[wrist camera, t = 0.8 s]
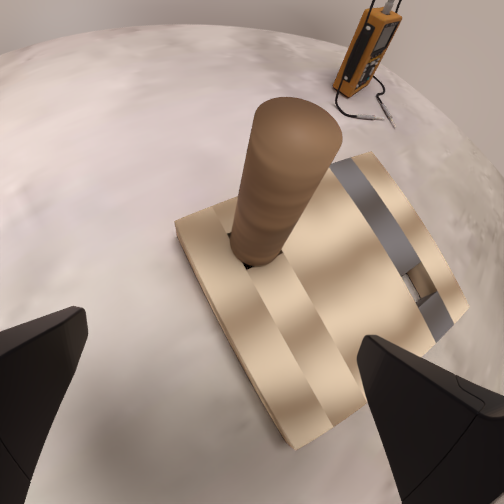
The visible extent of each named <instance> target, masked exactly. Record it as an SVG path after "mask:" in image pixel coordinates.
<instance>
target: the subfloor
mask: <svg viewBox="0 0 504 504" xmlns="http://www.w3.org/2000/svg"><path fill="white" fill-rule="evenodd" d="M237 199H238V196H237V197H234V198H232V199H229V200H227V201H224V202H221V203H219V204H216V205H214V206H211V207H208V208H206V209H203V210H201V211H198V212H196V213H193V214H191V215H188V216H186V217H183V218H181V219H178V220H176V221H174V222H175V227H176V233H177V237H178V239H179V241H180V243H181V246H182V248H183V250H184V252H185V254H186V256H187V258H188V261H189V263H190V265H191V267H192V269H193V271H194V273H195V275H196V277H197V279H198V282H199V284H200V286H201V288H202V290H203V292H204V294H205V296H206V298H207V300H208V302H209V304H210V306H211V308H212V310H213V312H214V314H215V316H216V318H217V320H218V322H219V324H220V325H221V327H222V329H223V331H224V333H225V335H226V337H227V339H228V341H229V343H230V345H231V347H232V348H233V350H234V352H235V354H236V356H237V358H238V360H239V361H240V363H241V365H242V367H243V369H244V371H245V372H246V374H247V376H248V378H249V380H250V381H251V383H252V385H253V387H254V389H255V390H256V392H257V394H258V396H259V397H260V399H261V401H262V403H263V404H264V406H265V408H266V410H267V411H268V413H269V415H270V416H271V418H272V420H273V421H274V423H275V425H276V427H277V428H278V430H279V432H280V433H281V435H282V437H283V438H284V440H285V441H286V443H287V444H288V445H290V446H291V447H292V448H293V449H294V450H298V449H299V448H301V447H303V446H304V445H306V444H308V443H309V442H311V441H313V440H314V439H316V438H317V437H319V436H321V435H322V434H324V433H325V432H327V431H328V430H330V429H331V428H333V427H334V426H336V425H337V424H339V423H340V422H342V421H343V420H344V419H346V418H347V417H349V416H350V415H352V414H353V413H354V412H356V411H357V410H358V409H360V408H361V407H362V406H364V405H365V404H366V403H368V402H367V399H366V396H365V392H364V388H363V384H362V380H361V377H360V373H359V369H358V365H357V360H356V359H357V354H358V351H359V348H360V345H361V342H362V340H363V338H364V336H365V335H378V336H380V337H382V338H384V339H386V340H388V341H390V342H392V343H394V344H396V345H397V346H399V347H401V348H403V349H405V350H407V351H409V352H411V353H413V354H415V355H417V356H419V357H422V356H423V355H424V354H425V353H426V352H427V351H428V350H429V349H430V348H431V347H432V346H433V345H435V344H436V343H437V342H438V341H439V340H440V339H441V337H442V336H443V335H444V334H445V333H446V332H447V331H448V330H449V329H450V328H451V327H452V326H453V325H454V324H455V323H456V322H457V321H458V320H459V318H460V317H461V316H462V315H463V314H464V313H465V312H466V311H467V309H468V308H469V305H468V302H467V300H466V298H465V296H464V294H463V292H462V290H461V288H460V286H459V284H458V283H457V281H456V279H455V277H454V275H453V273H452V271H451V269H450V268H449V266H448V264H447V262H446V260H445V259H444V257H443V255H442V253H441V252H440V250H439V248H438V247H437V245H436V243H435V242H434V240H433V238H432V237H431V235H430V233H429V232H428V230H427V229H426V227H425V225H424V224H423V222H422V221H421V219H420V218H419V216H418V215H417V213H416V211H415V210H414V209H413V207H412V206H411V204H410V203H409V201H408V200H407V198H406V197H405V195H404V194H403V193H402V191H401V190H400V188H399V187H398V186H397V184H396V183H395V181H394V180H393V179H392V177H391V176H390V175H389V173H388V172H387V171H386V169H385V168H384V167H383V165H382V164H381V163H380V161H379V160H378V159H377V158H376V156H375V155H374V154H373V153H372V151H371V152H368V153H364V154H361V155H358V156H354V157H351V158H348V159H345V160H342V161H338V162H335V163H332V164H331V165H330V166H329V168H328V170H327V172H326V173H325V175H324V177H323V179H322V180H321V182H320V184H319V186H318V187H317V189H316V191H315V192H314V194H313V196H312V198H311V199H310V201H309V203H308V205H307V206H306V208H305V210H304V211H303V213H302V215H301V217H300V218H299V220H298V222H297V223H296V225H295V227H294V229H293V230H292V232H291V234H290V235H289V237H288V239H287V240H286V242H285V244H284V246H283V247H282V249H281V251H280V252H279V254H278V256H277V257H276V258H275V259H274V260H273V261H272V262H270V263H268V264H266V265H262V266H254V267H252V268H250V269H248V270H246V269H245V267H244V265H243V263H242V261H240V260H239V259H238V258H237V257H236V256H235V255H234V253H233V251H232V249H231V246H230V236H231V231H232V225H233V220H234V215H235V210H236V204H237ZM405 273H407V274H408V276H409V277H410V279H411V281H412V283H413V284H414V286H415V288H416V290H417V292H418V294H419V295H420V297H421V299H420V300H418V301H417V302H416V303H415V301H414V299H413V297H412V296H411V294H410V292H409V290H408V288H407V287H406V285H405V283H404V281H403V280H402V278H401V276H403V275H404V274H405Z"/></svg>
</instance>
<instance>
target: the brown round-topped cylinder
mask: <svg viewBox="0 0 504 504" xmlns="http://www.w3.org/2000/svg"><path fill="white" fill-rule="evenodd" d="M341 144H342V132H341V129H340V127H339V125H338V123H337V122H336V120H335V119H334V118H333V117H332V116H331V115H330V114H329V113H328V112H327V111H325V110H324V109H323V108H321V107H319V106H318V105H316V104H314V103H311V102H309V101H306V100H303V99H299V98H293V97H279V98H273V99H270V100H268V101H266V102H264V103H262V104H261V105H260V106H259V107H258V108H257V110H256V112H255V115H254V120H253V124H252V129H251V134H250V139H249V144H248V149H247V154H246V159H245V164H244V169H243V174H242V179H241V184H240V189H239V194H238V199H237V204H236V210H235V215H234V220H233V225H232V231H231V236H230V246H231V249H232V251H233V253H234V255H235V256H236V257H237V258H238V259H239V260H240V261H242V262H243V263H244V264H245V265H247V266H262V265H266V264H268V263H270V262H272V261H273V260H274V259H275V258H276V257H277V256H278V254H279V252H280V251H281V249H282V247H283V246H284V244H285V242H286V240H287V239H288V237H289V235H290V234H291V232H292V230H293V229H294V227H295V225H296V223H297V222H298V220H299V218H300V217H301V215H302V213H303V211H304V210H305V208H306V206H307V205H308V203H309V201H310V199H311V198H312V196H313V194H314V192H315V191H316V189H317V187H318V186H319V184H320V182H321V180H322V179H323V177H324V175H325V173H326V172H327V170H328V168H329V166H330V165H331V163H332V161H333V159H334V157H335V156H336V154H337V152H338V150H339V149H340V147H341Z"/></svg>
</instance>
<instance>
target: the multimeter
mask: <svg viewBox="0 0 504 504" xmlns="http://www.w3.org/2000/svg"><path fill="white" fill-rule="evenodd" d="M401 1H402V0H399V3H398V5H397V8H396V11H395V12H393V11H391V8H392V7H393V2H394V0H388V2H387V3H386V4H385V6H384V7H381V8H373V5H374V2H375V0H373V1H372V4H371V6H370V8H369V9H366V10H365V11H364V13H363V15H362V17H361V20H360V22H359V25H358V27H357V29H356V32H355V35H354V36H353V39H352V41H351V44H350V46H349V48H348V51H347V53H346V55H345V58H344V60H343V62H342V65H341V67H340V70H339V72H338V74H337V77H336V79H335V82H334V84H333V87H334V88H335V89H337V94H336V99H335V104H336V106H337V108H338V109H339V110H340V111H341V112H342V113H343V114H344V115H346V116H349V117H357V118H362V119H373V120H375V119H385V118H380V117H375V116H374V115H373V116H370V115H349V114H346V113H344V112H343V111H342V110H341V108H340V107H339V106H338V104H337V99H338V94H339V91H340V92H341V93H343V94H344V95H346V96H347V97H351V96H352V95H353V94H355V93H356V92H358V91H359V90H360V89H362V88H363V87H365V86H367V85H368V84H369V83H370V81H371V79H372V77H374V78H375V79H376V80H377V81H378V82H379V83H380V84H381V85H382V86H383V90H384V91H383V92H382V93H378V94H377V98H378V100H379V101H380V103H381V104H382V107H383V109H384V111H385V112H386V114H387V116H388V119H391V121H392V123H393V124H394V122H393V120H392V116H391V115H390V113H389V111H388V110H387V108H386V106H385V105H384V104H383V103H382V101H381V100H380V98H379V96H378V95H380V94H384V93H385V87H384V85H383V84H382V83H381V82H380V81H379V80H378V79H377V78H376V77H375V76H373V74H374V73H375V71H376V69H377V67H378V65H379V64H380V62H381V59H382V58H383V55H384V54H385V52H386V50H387V48H388V46H389V44H390V42H391V40H392V38H393V36H394V34H395V32H396V30H397V28H398V26H399V24H400V22H401V20H402V16H400V15H398V14H397V11H398V8H399V5H400V3H401ZM394 126H395V127H396V125H395V124H394Z"/></svg>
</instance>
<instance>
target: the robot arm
mask: <svg viewBox="0 0 504 504" xmlns="http://www.w3.org/2000/svg"><path fill="white" fill-rule="evenodd" d="M87 337H88V326H87V319H86V312H85V310H84V308H81V307H76V306H71V307H69V308H66V309H63V310H60V311H57V312H54V313H51V314H49V315H46V316H43V317H40V318H37V319H34V320H32V321H29V322H26V323H23V324H20V325H17V326H15V327H12V328H9V329H6V330H3V331H1V332H0V504H24V502H25V499H26V496H27V492H28V489H29V486H30V483H31V482H30V481H31V479H32V476H33V473H34V470H35V467H36V465H37V462H38V459H39V456H40V454H41V451H42V448H43V446H44V443H45V440H46V438H47V435H48V433H49V430H50V428H51V425H52V423H53V421H54V418H55V416H56V414H57V411H58V409H59V407H60V404H61V402H62V400H63V398H64V395H65V393H66V391H67V389H68V387H69V385H70V382H71V380H72V378H73V376H74V374H75V371H76V368H77V365H78V362H79V359H80V357H81V354H82V351H83V348H84V346H85V343H86V340H87ZM356 360H357V365H358V369H359V373H360V377H361V380H362V384H363V388H364V392H365V396H366V399H367V402H368V405H369V407H370V410H371V413H372V416H373V418H374V421H375V424H376V427H377V429H378V432H379V435H380V438H381V441H382V444H383V446H384V449H385V452H386V455H387V458H388V461H389V464H390V467H391V470H392V473H393V476H394V479H395V482H396V486H397V489H398V492H399V495H400V498H401V501H402V504H504V396H503V395H500V394H498V393H495V392H493V391H490V390H488V389H486V388H483V387H481V386H479V385H476V384H474V383H472V382H470V381H468V380H466V379H463V378H461V377H459V376H457V375H455V374H453V373H451V372H449V371H447V370H445V369H443V368H441V367H439V366H437V365H435V364H433V363H431V362H429V361H427V360H425V359H423V358H421V357H419V356H417V355H415V354H413V353H411V352H409V351H407V350H405V349H403V348H401V347H399V346H397V345H396V344H394V343H392V342H390V341H388V340H386V339H384V338H382V337H380V336H378V335H365V336H364V338H363V340H362V342H361V345H360V348H359V351H358V354H357V359H356Z"/></svg>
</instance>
